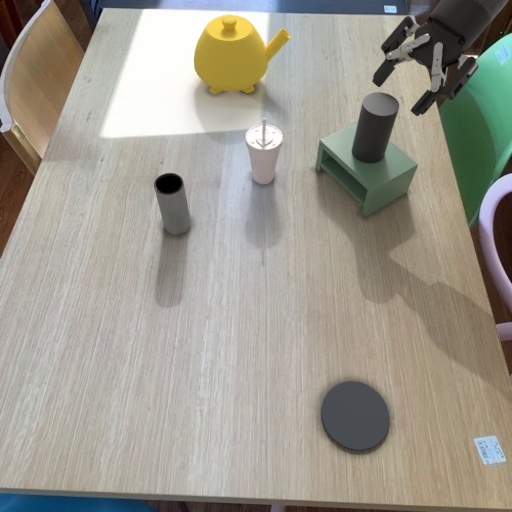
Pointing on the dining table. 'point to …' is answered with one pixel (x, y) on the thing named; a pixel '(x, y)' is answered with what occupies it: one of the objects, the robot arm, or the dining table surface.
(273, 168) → the smoothie
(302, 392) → the dining table surface
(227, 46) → the teapot
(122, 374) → the dining table surface
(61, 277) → the dining table surface
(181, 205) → the planter
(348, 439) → the coaster
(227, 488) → the dining table surface
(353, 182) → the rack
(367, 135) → the dark grey cylinder
